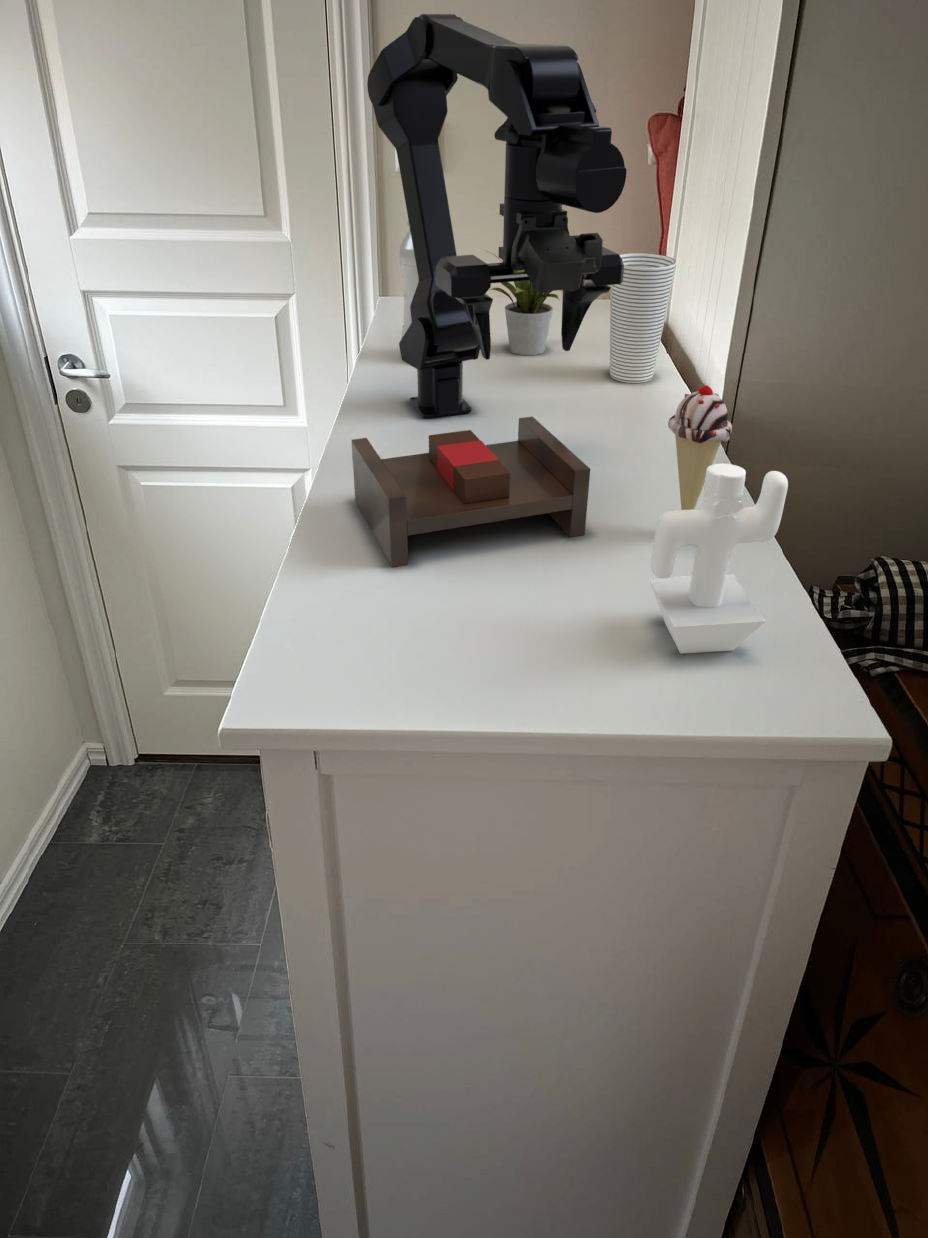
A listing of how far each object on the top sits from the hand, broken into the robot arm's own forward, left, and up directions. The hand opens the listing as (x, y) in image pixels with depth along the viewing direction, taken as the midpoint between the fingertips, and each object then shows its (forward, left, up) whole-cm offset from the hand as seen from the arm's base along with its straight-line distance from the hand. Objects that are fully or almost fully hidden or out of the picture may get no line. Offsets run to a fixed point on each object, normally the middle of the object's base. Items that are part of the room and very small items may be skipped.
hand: (526, 354), depth 99 cm
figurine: (+38, 0, -12) cm, 40 cm away
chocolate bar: (+12, -11, -7) cm, 18 cm away
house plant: (-36, +17, -12) cm, 42 cm away
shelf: (+12, -11, -12) cm, 20 cm away
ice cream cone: (+22, +8, -12) cm, 26 cm away
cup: (-21, +25, -12) cm, 35 cm away
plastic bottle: (-38, 0, -12) cm, 40 cm away
